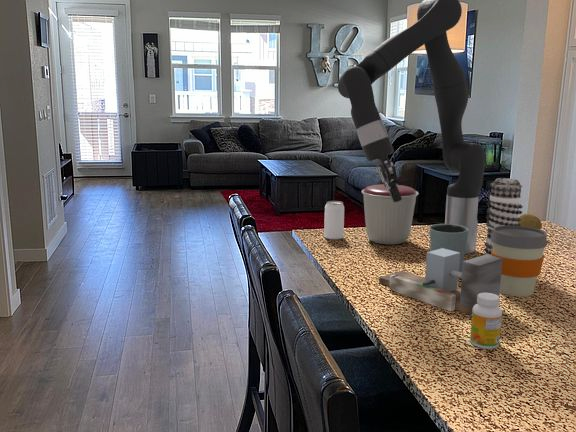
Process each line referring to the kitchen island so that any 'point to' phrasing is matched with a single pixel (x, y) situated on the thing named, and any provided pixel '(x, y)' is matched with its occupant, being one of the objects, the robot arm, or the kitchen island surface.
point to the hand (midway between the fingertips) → (397, 201)
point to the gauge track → (475, 279)
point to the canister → (388, 214)
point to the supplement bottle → (486, 321)
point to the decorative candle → (502, 207)
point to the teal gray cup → (449, 239)
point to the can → (334, 220)
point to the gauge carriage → (443, 269)
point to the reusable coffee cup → (519, 257)
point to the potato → (530, 221)
